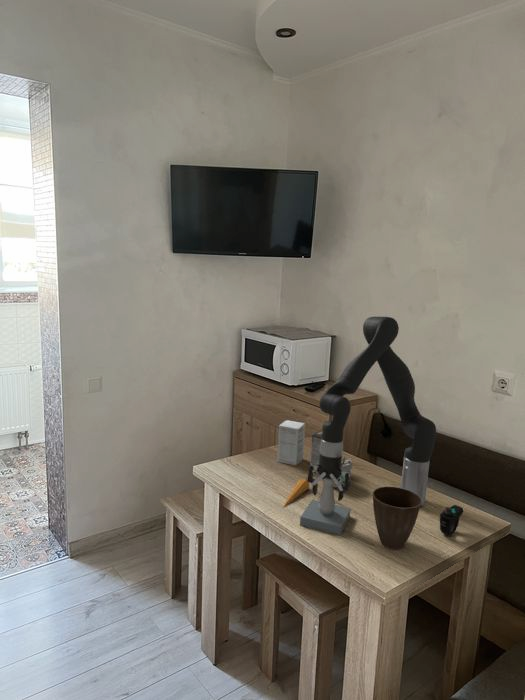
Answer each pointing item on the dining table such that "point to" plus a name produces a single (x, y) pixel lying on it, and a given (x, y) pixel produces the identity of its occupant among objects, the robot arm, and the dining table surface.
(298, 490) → the carrot
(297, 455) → the supplement box
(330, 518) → the base plinth
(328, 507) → the salt shaker
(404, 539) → the plant pot
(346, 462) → the food container
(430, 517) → the dining table surface
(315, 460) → the coffee box
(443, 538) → the dining table surface
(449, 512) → the controller
